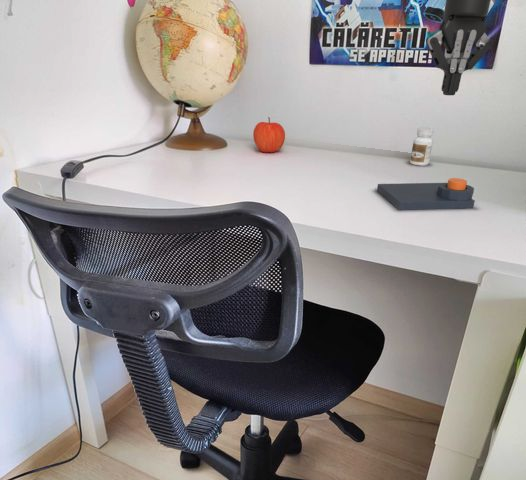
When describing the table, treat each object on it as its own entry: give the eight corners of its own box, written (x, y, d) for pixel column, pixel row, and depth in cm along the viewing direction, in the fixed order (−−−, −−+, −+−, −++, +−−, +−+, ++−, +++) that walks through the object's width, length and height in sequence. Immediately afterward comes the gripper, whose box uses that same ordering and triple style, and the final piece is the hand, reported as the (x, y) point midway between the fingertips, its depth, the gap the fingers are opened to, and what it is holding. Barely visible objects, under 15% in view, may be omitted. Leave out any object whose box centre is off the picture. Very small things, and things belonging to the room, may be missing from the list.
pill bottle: (406, 163, 117) (412, 128, 113) (416, 160, 120) (422, 126, 116) (422, 166, 115) (428, 131, 111) (432, 164, 117) (439, 129, 113)
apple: (253, 154, 122) (253, 119, 118) (253, 148, 129) (253, 114, 124) (285, 155, 122) (286, 120, 118) (283, 148, 129) (285, 115, 125)
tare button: (460, 186, 91) (462, 177, 90) (468, 191, 88) (470, 182, 88) (443, 186, 91) (445, 178, 90) (451, 191, 88) (453, 182, 87)
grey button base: (446, 189, 99) (449, 174, 97) (476, 208, 89) (480, 191, 87) (376, 191, 97) (378, 175, 95) (398, 210, 87) (401, 193, 85)
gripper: (446, -19, 82) (425, 97, 92) (518, -16, 84) (490, 97, 94) (426, -16, 88) (408, 92, 98) (493, -13, 90) (469, 93, 100)
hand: (448, 94), depth 96 cm, fingers closed
